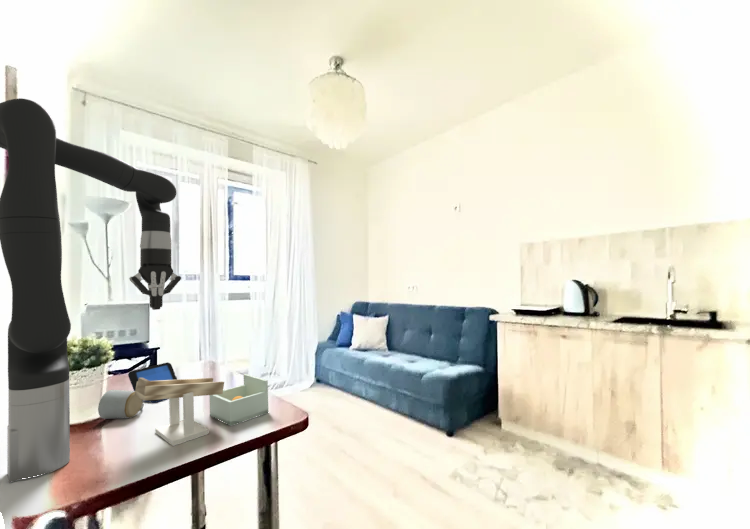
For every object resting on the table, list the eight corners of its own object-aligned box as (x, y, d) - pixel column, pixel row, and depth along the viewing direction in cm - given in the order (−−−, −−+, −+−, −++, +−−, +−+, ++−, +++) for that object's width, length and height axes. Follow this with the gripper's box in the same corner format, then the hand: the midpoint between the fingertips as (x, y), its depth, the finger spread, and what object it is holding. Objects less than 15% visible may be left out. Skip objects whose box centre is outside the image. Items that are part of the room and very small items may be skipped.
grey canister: (127, 422, 97) (127, 393, 97) (97, 423, 97) (97, 394, 97) (151, 408, 107) (151, 382, 108) (124, 409, 107) (124, 383, 108)
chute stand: (172, 446, 81) (172, 399, 81) (155, 432, 89) (154, 390, 89) (208, 433, 87) (207, 390, 87) (189, 422, 95) (188, 382, 95)
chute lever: (143, 400, 79) (147, 382, 80) (124, 388, 90) (127, 371, 90) (222, 393, 92) (224, 378, 93) (197, 383, 103) (199, 369, 104)
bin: (230, 426, 91) (229, 390, 91) (209, 415, 99) (209, 382, 99) (268, 412, 99) (267, 380, 99) (246, 404, 107) (246, 374, 107)
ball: (250, 407, 99) (236, 415, 96) (243, 404, 102) (229, 412, 99) (246, 394, 99) (233, 402, 96) (239, 392, 101) (226, 399, 98)
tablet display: (154, 404, 111) (154, 374, 112) (126, 400, 116) (126, 372, 117) (196, 389, 126) (196, 362, 126) (170, 386, 131) (169, 361, 131)
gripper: (132, 245, 94) (132, 311, 93) (185, 248, 103) (186, 308, 102) (125, 248, 99) (124, 310, 98) (176, 250, 108) (176, 307, 108)
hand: (156, 309), depth 100 cm, fingers closed
